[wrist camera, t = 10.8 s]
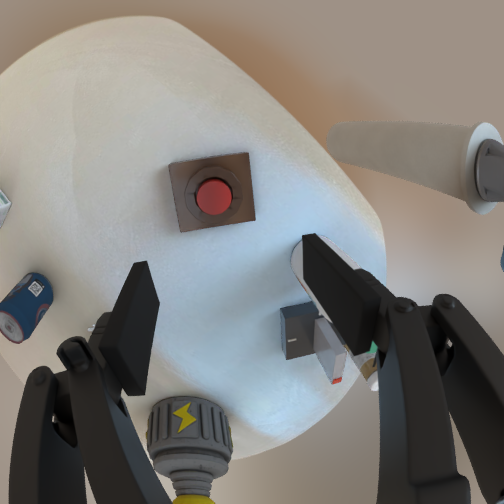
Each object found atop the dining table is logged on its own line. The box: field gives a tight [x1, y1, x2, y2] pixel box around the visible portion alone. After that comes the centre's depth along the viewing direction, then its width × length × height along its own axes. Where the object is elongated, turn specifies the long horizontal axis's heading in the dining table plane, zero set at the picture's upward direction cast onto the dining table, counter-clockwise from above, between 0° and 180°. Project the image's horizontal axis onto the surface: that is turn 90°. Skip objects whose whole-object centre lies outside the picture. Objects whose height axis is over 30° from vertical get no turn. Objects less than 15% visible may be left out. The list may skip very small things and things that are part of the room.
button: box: [197, 179, 232, 215], centre depth 31 cm, size 4×4×2 cm
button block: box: [169, 152, 256, 232], centre depth 34 cm, size 10×9×4 cm
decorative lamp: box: [146, 397, 233, 504], centre depth 41 cm, size 19×19×30 cm
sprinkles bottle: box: [343, 344, 379, 391], centre depth 46 cm, size 5×5×13 cm
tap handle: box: [313, 317, 347, 384], centre depth 41 cm, size 7×2×9 cm, turn 6°
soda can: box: [0, 273, 53, 344], centre depth 31 cm, size 7×7×12 cm
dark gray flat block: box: [280, 302, 346, 360], centre depth 47 cm, size 12×11×3 cm
